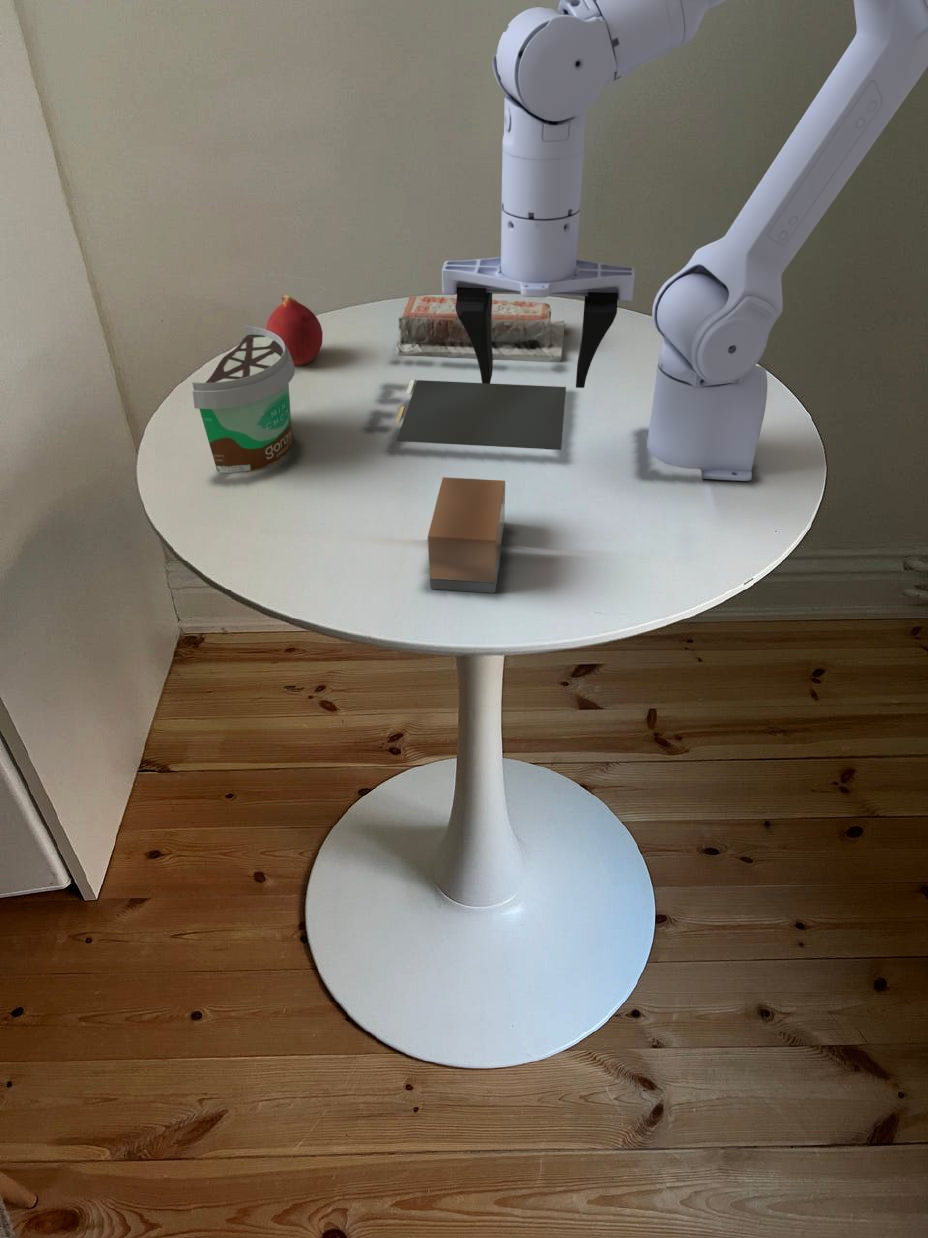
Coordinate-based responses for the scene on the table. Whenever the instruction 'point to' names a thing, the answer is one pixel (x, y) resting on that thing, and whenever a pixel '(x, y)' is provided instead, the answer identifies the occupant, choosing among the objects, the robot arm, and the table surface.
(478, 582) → the eraser
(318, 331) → the onion
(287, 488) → the table surface
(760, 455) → the table surface
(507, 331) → the packaged product
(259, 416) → the food container
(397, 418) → the chalk mark
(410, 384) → the chalk mark
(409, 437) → the slate board
